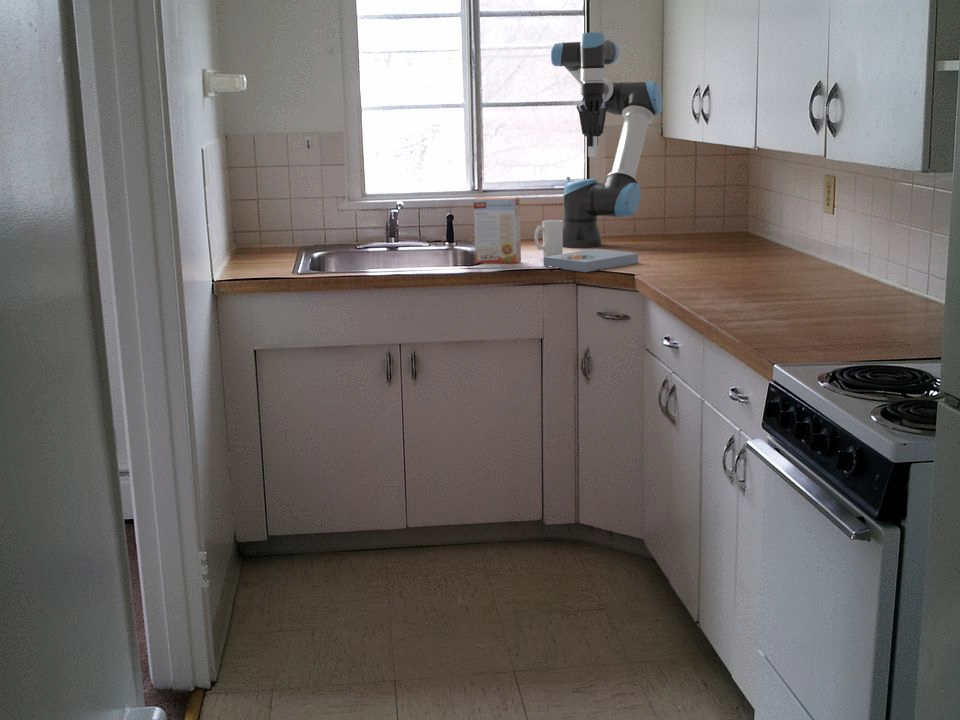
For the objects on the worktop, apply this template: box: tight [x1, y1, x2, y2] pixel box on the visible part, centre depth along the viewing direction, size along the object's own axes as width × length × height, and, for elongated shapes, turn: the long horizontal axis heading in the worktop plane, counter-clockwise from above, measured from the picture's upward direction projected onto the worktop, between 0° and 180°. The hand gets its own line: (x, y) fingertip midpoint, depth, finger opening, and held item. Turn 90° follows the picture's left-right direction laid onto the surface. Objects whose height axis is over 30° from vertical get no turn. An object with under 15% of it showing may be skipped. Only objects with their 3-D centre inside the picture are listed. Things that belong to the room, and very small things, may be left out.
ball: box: [571, 254, 583, 259], centre depth 324 cm, size 4×4×4 cm
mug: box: [534, 219, 564, 258], centre depth 345 cm, size 10×7×12 cm, turn 113°
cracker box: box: [473, 196, 522, 265], centre depth 336 cm, size 14×6×21 cm, turn 72°
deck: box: [543, 248, 639, 273], centre depth 328 cm, size 24×18×3 cm
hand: (592, 156), depth 343 cm, fingers closed
